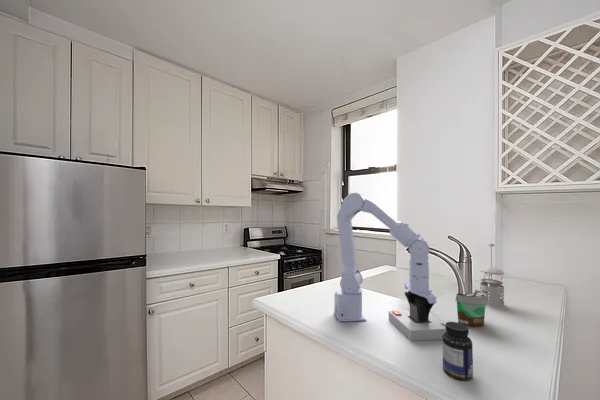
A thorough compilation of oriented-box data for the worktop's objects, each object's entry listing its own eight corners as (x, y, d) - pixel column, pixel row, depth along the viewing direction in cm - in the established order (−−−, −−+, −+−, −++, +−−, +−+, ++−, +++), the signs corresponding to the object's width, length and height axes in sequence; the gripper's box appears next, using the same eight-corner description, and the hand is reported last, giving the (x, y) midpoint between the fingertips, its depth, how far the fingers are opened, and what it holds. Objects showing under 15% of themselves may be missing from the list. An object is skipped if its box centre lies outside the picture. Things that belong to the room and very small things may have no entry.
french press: (480, 307, 101) (480, 244, 102) (473, 298, 112) (472, 240, 113) (511, 311, 98) (510, 245, 98) (501, 301, 108) (500, 242, 109)
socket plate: (410, 340, 75) (410, 328, 75) (388, 320, 89) (388, 309, 89) (454, 338, 77) (454, 326, 77) (426, 318, 91) (426, 308, 91)
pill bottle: (459, 364, 64) (459, 319, 64) (479, 380, 58) (479, 331, 58) (436, 366, 63) (436, 320, 64) (454, 382, 57) (454, 332, 58)
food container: (475, 332, 81) (474, 300, 81) (455, 324, 86) (455, 294, 87) (496, 324, 87) (495, 294, 87) (476, 317, 92) (476, 289, 92)
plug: (416, 326, 81) (416, 307, 81) (409, 321, 85) (409, 302, 85) (428, 326, 81) (428, 306, 81) (421, 320, 85) (420, 302, 85)
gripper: (445, 281, 77) (445, 327, 76) (417, 270, 91) (417, 308, 91) (423, 282, 76) (423, 328, 75) (398, 270, 90) (398, 309, 90)
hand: (419, 317), depth 83 cm, fingers closed on plug, 4 cm apart
